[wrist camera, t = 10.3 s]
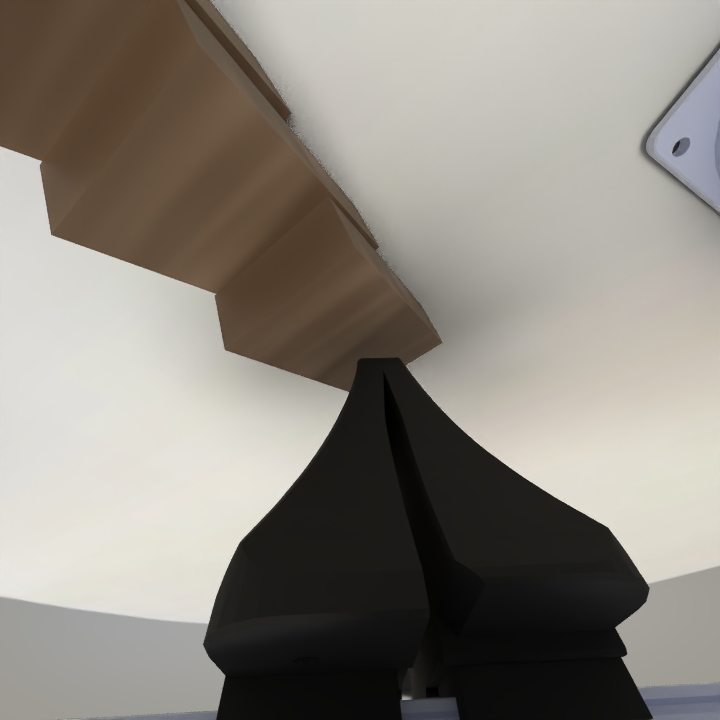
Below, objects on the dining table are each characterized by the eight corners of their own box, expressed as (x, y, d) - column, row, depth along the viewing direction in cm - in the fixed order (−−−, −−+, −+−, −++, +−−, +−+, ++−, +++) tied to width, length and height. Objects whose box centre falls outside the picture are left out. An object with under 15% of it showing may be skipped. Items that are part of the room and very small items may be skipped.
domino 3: (442, 342, 13) (355, 247, 7) (356, 394, 14) (225, 349, 9) (421, 305, 14) (328, 195, 8) (342, 357, 15) (214, 296, 10)
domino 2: (379, 247, 11) (197, 43, 5) (286, 318, 12) (51, 234, 6) (354, 206, 12) (165, -23, 5) (268, 278, 13) (39, 165, 7)
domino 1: (291, 113, 9) (-133, -388, 3) (195, 214, 11) (-238, 62, 4) (254, 56, 9) (-255, -580, 3) (162, 165, 11) (-318, -69, 4)
